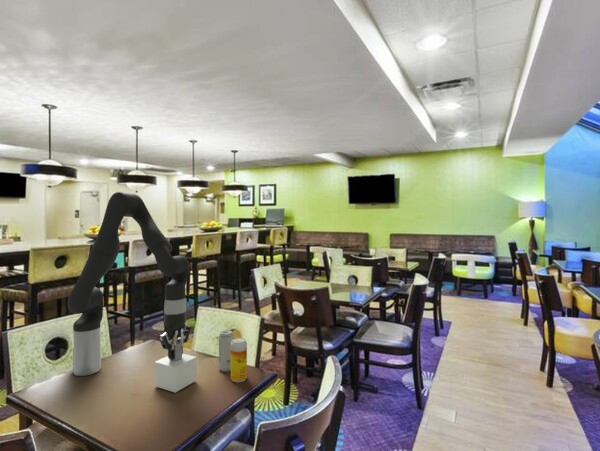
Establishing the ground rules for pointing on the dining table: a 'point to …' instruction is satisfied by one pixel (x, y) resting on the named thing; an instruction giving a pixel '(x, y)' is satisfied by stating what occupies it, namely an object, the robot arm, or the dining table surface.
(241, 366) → the yellow white cylinder
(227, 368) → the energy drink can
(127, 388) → the dining table surface
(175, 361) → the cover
